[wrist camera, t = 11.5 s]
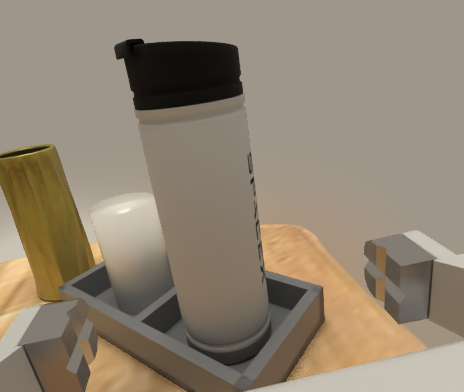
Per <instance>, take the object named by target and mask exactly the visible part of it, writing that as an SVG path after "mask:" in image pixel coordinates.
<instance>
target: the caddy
mask: <svg viewBox="0 0 464 392" xmlns="http://www.w3.org/2000/svg"><path fill="white" fill-rule="evenodd" d="M166 251H167V250H166ZM169 264H170V263H169ZM265 276H266V284H267V293H268V301H269V310H270V318H271V328H272V329H271V335H270V337H269V339H268V342H267V343H266V344H265V345H264V347H263V348H262V349H261V350H260V351H259V352H258V353H256V354H255V355H253V356H252V357H250V358H248V359H246V360H243V361H241V362H237V363H232V364H221V363H219V362H217V361H215V360H214V359H212V358H210V357H208V356H206V355H204V354H202V353H200V352H198V351H196V350H194V349H192V348H190V347H189V345H188V342H187V338H186V333H185V329H184V324H183V320H182V316H181V311H180V307H179V303H178V298H177V294H176V290H175V287H173V288H172V289H171V290H169V291H168V292H167V293H165V294H164V295H163V296H162V297H160V298H159V299H158V300H156V301H155V302H154V303H152V304H151V305H150V306H148V307H147V308H146V309H145V310H143V311H142V312H141V313H139V314H138V315H131V314H126V313H123V312H122V311H120V310H119V308H118V306H117V302H116V299H115V296H114V293H113V289H112V286H111V283H110V280H109V276H108V273H107V270H106V267H105V263H104V262H102V263H100V264H98V265H97V266H95V267H93V268H91V269H90V270H88V271H86V272H84V273H83V274H81V275H79V276H77V277H76V278H74V279H72V280H70V281H69V282H67V283H65V284H63V285H62V286H60V287H58V291H59V293H60V296H61V299H62V301H65V300H71V299H76V298H83V299H84V300H85V301H86V303H87V306H88V309H89V312H88V315H87V317H86V319H88V320H89V321H91V322H92V323H94V326H95V329H96V333H97V334H98V335H99V336H101V337H102V338H104V339H106V340H107V341H109V342H110V343H112V344H114V345H115V346H117V347H118V348H120V349H121V350H123V351H125V352H126V353H128V354H129V355H131V356H133V357H134V358H136V359H137V360H139V361H141V362H142V363H144V364H145V365H147V366H148V367H150V368H152V369H153V370H155V371H156V372H158V373H160V374H161V375H163V376H164V377H166V378H168V379H169V380H171V381H172V382H174V383H175V384H177V385H179V386H180V387H182V388H183V389H185V390H187V391H188V392H244V391H248V390H253V389H257V388H261V387H266V386H270V385H274V384H278V383H283V382H285V380H286V379H287V377H288V376H289V374H290V373H291V371H292V369H293V368H294V366H295V365H296V363H297V362H298V360H299V359H300V357H301V356H302V354H303V352H304V351H305V349H306V348H307V346H308V345H309V343H310V342H311V340H312V338H313V337H314V335H315V334H316V332H317V331H318V329H319V328H320V326H321V324H322V323H323V321H324V320H325V318H324V297H323V287H322V286H319V285H315V284H312V283H308V282H305V281H301V280H297V279H294V278H290V277H287V276H283V275H280V274H276V273H273V272H269V271H266V270H265ZM172 277H173V276H172ZM174 286H175V285H174Z"/></svg>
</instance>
